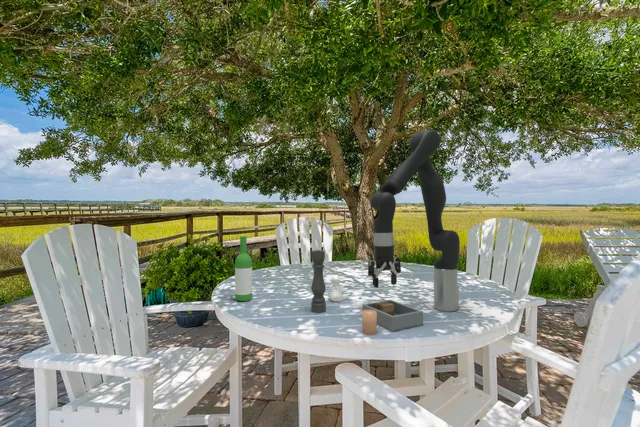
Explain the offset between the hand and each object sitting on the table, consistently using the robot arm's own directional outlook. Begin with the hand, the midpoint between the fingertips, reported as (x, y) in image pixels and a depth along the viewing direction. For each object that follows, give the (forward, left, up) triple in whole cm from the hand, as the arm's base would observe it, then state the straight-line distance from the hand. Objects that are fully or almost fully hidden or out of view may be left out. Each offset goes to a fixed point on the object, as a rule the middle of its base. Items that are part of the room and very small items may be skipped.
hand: (385, 285), depth 129 cm
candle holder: (+18, -21, -13) cm, 31 cm away
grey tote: (0, +4, -13) cm, 13 cm away
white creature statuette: (+3, -31, -13) cm, 34 cm away
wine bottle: (+41, -53, -13) cm, 68 cm away
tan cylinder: (+14, +9, -13) cm, 21 cm away
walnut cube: (0, 0, -12) cm, 12 cm away
